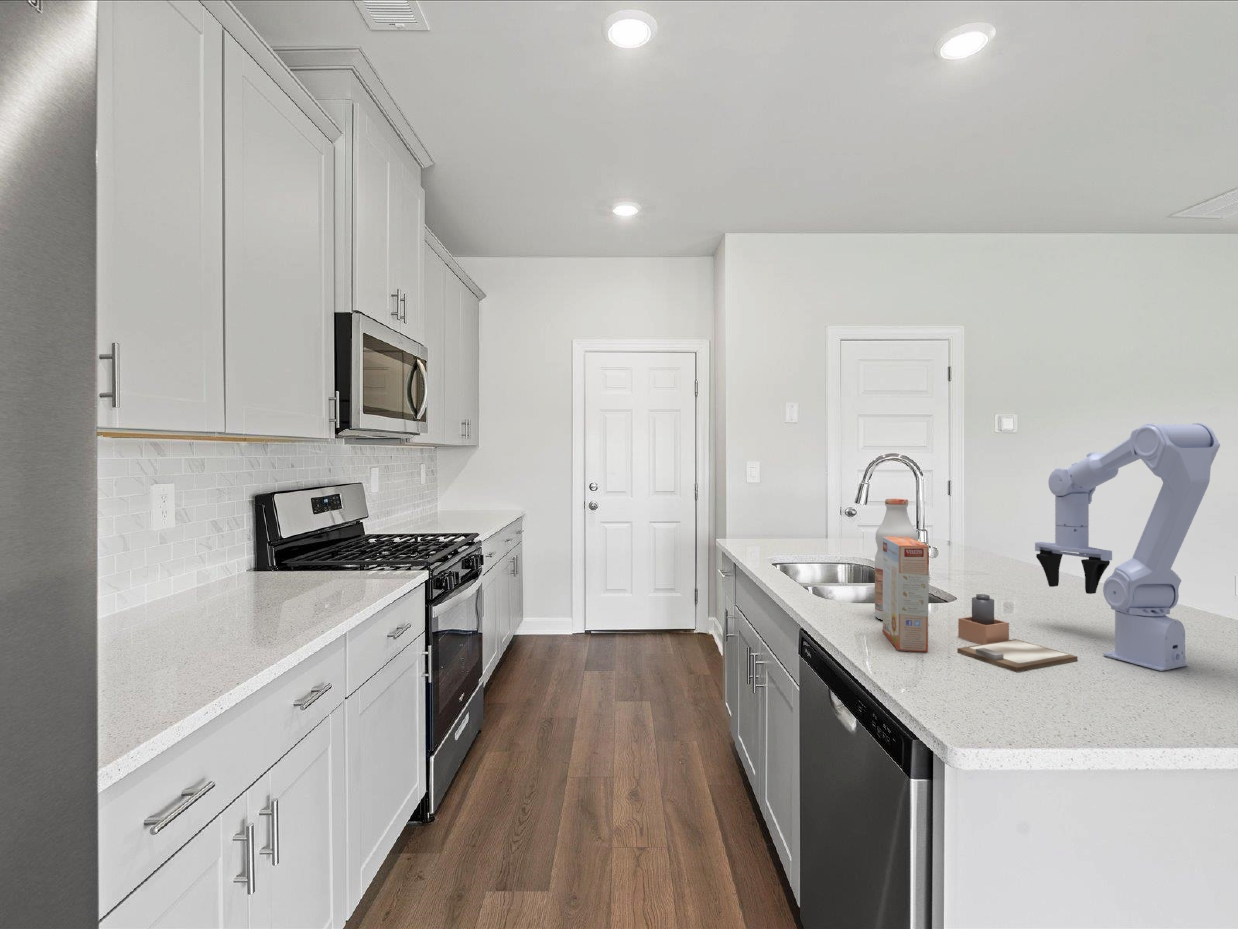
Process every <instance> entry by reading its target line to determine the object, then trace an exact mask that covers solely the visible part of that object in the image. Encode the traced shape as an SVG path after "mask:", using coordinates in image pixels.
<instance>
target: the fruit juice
mask: <svg viewBox="0 0 1238 929" xmlns="http://www.w3.org/2000/svg"><path fill="white" fill-rule="evenodd" d="M884 506H885V507H886V510H885V514H884V517H883V520H882V523H880V526H879V527H878V528H877V530H876V531H875V535H874V536H875V544H876V547H877V551H876V553H875V555H874V614H875V615H874V616H875V618H876V617H877V618H878V619H881V620H883V537H909V538H912V539H914V540H916V541H918V542H919V534H918V531H917V530H916V529H915V527H914V526H913V524H912V523H911V520H910V517H909V514H908V510H907V508H908V507H909V500H908V499H907V498H886V499H885V500H884ZM877 618H876V619H877ZM878 619H877V620H878Z"/></svg>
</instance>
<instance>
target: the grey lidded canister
mask: <svg viewBox="0 0 1238 929" xmlns="http://www.w3.org/2000/svg"><path fill="white" fill-rule="evenodd" d="M971 617H972V622H976V623H979V624H983V625H991V624H994V619H995V600H994V599H993V598H990V595H989V594H983V593H977V594H975V597H974V596H973V597H971Z"/></svg>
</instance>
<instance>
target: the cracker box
mask: <svg viewBox="0 0 1238 929" xmlns="http://www.w3.org/2000/svg"><path fill="white" fill-rule="evenodd" d="M929 565H930V546H929V545H928V544H925V543H923V542H920V541H919V540H918V541H916V540H914V539H912V538H909V537H883V621H882V628H881V629H882V633H883V634H884V635H885V636H886V637H887V638H888V641H890V642H891V643H892V645H893V646H894V648H896V650H897V651H903V652H914V653H915V652H916V653H917V652H918V653H929V594H930V592H929V590H930V588H929V584H930V581H929V573H930V571H929V570H930V569H929V568H930V566H929Z"/></svg>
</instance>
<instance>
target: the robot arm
mask: <svg viewBox="0 0 1238 929" xmlns="http://www.w3.org/2000/svg"><path fill="white" fill-rule="evenodd" d="M1220 447H1221V443H1220V442H1219V439H1218V438H1217V436H1216V434H1215V432H1214V431H1213V429H1212V428H1211V427H1209V425H1207V424H1204V423H1200V422H1199V423H1198V422H1197V423H1192V424H1191V423H1189V424H1188V423H1187V424H1186V423H1185V424H1183V423H1182V424H1181V423H1180V424H1178V423H1177V424H1176V423H1175V424H1171V423H1170V424H1161V423H1160V424H1156V423H1145V424H1142V425H1141V426H1140V427H1139V428H1136V429H1133V430H1131V433H1130V436H1129V437H1128V438H1126V439H1125V440H1123V441H1122V442H1120V443H1119V444H1118V445H1117V446H1114V447H1113V448H1112V449H1110V450H1109V451H1107V452H1105V453H1104V452H1097V451H1096V452H1089V453H1087V454H1086V458H1084V459H1082V460H1080V461H1078V462H1074V463H1072V464H1071V466H1069V467H1068V468H1066V469H1065V468H1060V467H1059V468H1055V469H1054V470H1053V471H1051V473H1050V475H1049V478H1048V488H1049V490H1050V492H1051V494H1053V495H1054V496H1055V498H1054V499H1055V500H1054V502H1055V507H1054V508H1055V509H1054V510H1055V511H1054V512H1055V513H1054V516H1055V522H1054V523H1055V524H1054V525H1055V526H1054V527H1055V528H1054V529H1055V530H1054V532H1055V535H1054V536H1055V537H1054V539H1055V540H1054V541H1055V543H1054V542H1044V541H1038V542H1037V541H1035V542H1034V552H1039V553H1036V554H1035V555H1036V556H1035V557H1036V559H1037V560H1038V563H1040V565H1041V567H1042V570H1043V571H1044V574H1045V577H1046V581H1047V584H1048V587H1052V588H1054V587H1058V586H1059V584H1060V582H1059V581H1060V567H1061V563H1062V558H1063V555H1065V556H1072V557H1080V558H1083V559H1081V560H1080V561H1081V564H1082V569H1083V572H1084V590H1085V594H1088V595H1091V594H1094V595H1095V594H1096V593H1097V591H1098V590H1097V589H1098V586H1099V583H1100V581H1101V578H1102V576H1103V574H1104V573H1105V571H1106V569H1107V568H1108V567H1109V566H1110V564H1111V563H1110V562H1111V561H1113V550H1109V549H1103V548H1097V547H1092V546H1089V540H1090V538H1089V534H1090V533H1089V532H1090V531H1089V527H1090V523H1089V521H1090V520H1089V516H1090V515H1089V512H1090V510H1089V509H1090V508H1089V506H1090V505H1091V503H1092V501H1093V494H1094V493H1095V491H1096V488H1097V487H1098V486H1100V485H1102V484H1104V483H1106V482H1108V481H1110V480H1112V479H1114V478H1116V477H1117V475H1118V474H1119V470H1120V468H1122V467H1124V466H1127V465H1130V464H1132V463H1134V462H1136V461H1138V460H1142V462H1143V464H1145V465H1146V467H1147V468H1148V469H1149V470H1150V471H1151V472H1152V474H1153V475H1154V476H1156V477H1158V478H1160V479H1161V481H1162V485H1161V487H1160V490H1159V493H1158V494H1157V497H1156V500H1155V502H1154V504H1153V507H1152V510H1151V512H1150V514H1149V517H1148V519H1147V521H1146V524H1145V527H1144V528H1143V530H1142V533H1141V535H1140V539H1139V540H1138V543H1137V546H1136V548H1135V551H1134V553H1133V555H1132V558H1130V559H1128V560H1127V561H1125V562H1122V563H1120V564H1119V565H1117V566H1116V567H1115V568H1114V570H1113V573H1112V574H1111V575H1110V576H1109V577H1107V578H1106V580H1105V581H1104V583H1103V587H1102V592H1103V596H1104V599H1105V601H1106V603H1107V604H1108V605H1109V607H1110V608H1111V610H1114V650H1112V651H1107V652H1104V653H1103V656H1105V657H1108V658H1112V659H1115V660H1119V661H1123V662H1127V663H1130V664H1134V665H1137V666H1140V667H1141V666H1142V667H1145V668H1148V669H1153V670H1156V671H1161V672H1163V671H1168V670H1172V669H1177V668H1183V667H1186V666H1188V664H1189V663H1188V662H1186V630H1185V625H1184V624H1183V623H1182V621H1180V620H1179V619H1175V618H1171V617H1169V616H1168V615H1171V610H1172V609H1173V608H1174V607H1176V606H1177V604H1178V601H1179V588H1180V585H1181V583H1182V579H1181V577H1180V576H1179V575H1178V574H1177V573H1176V572H1175V571H1174V570H1173V569H1172V567H1173V564H1174V563H1175V561H1176V558H1177V556H1178V554H1179V552H1180V549H1181V547H1182V544H1183V543H1184V540H1185V538H1186V536H1187V535H1188V532H1189V529H1190V527H1191V525H1192V523H1193V520H1194V518H1195V516H1196V514H1197V512H1198V510H1199V509H1198V508H1199V507H1200V505H1201V502H1202V500H1203V499H1204V496H1205V493H1206V491H1207V489H1208V487H1209V484H1210V481H1211V480H1210V479H1211V468H1212V466H1213V465H1212V464H1213V462H1214V460H1215V458H1216V456H1217V453H1218V451H1219V449H1220ZM1084 558H1085V559H1084Z"/></svg>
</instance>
